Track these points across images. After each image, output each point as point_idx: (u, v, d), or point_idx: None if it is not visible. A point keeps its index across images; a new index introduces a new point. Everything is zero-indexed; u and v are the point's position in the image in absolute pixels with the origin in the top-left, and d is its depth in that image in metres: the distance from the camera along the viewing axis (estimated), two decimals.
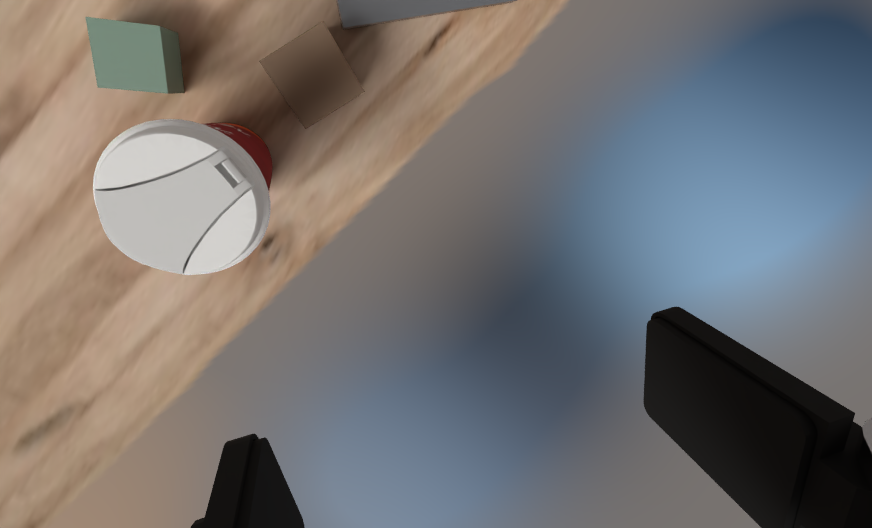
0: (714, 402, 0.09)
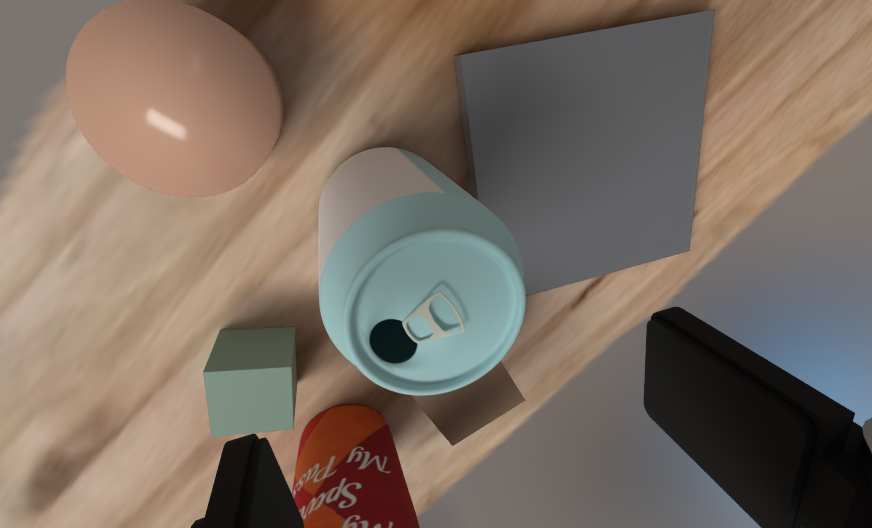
0: (714, 402, 0.09)
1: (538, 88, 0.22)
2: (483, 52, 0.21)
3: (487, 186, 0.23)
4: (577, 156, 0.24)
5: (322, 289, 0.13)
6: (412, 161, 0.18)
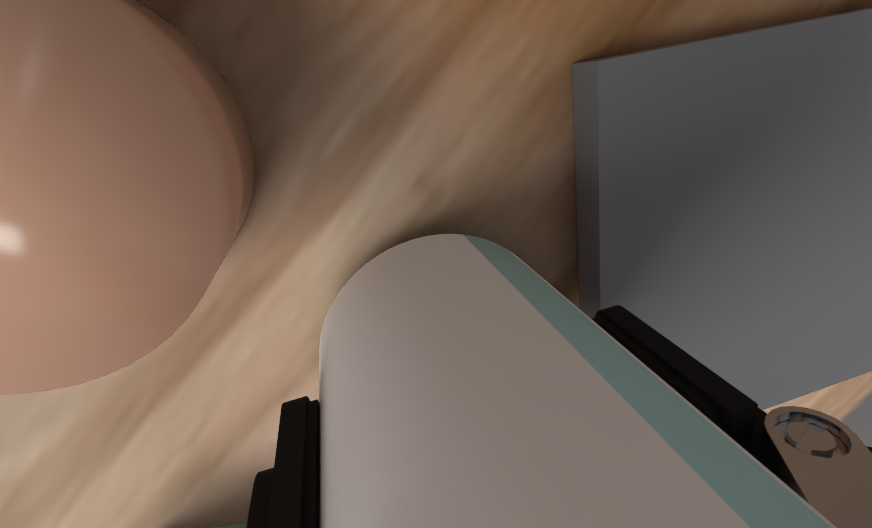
0: None
1: (723, 121, 0.12)
2: (639, 56, 0.11)
3: (617, 290, 0.13)
4: (766, 234, 0.14)
5: None
6: (524, 294, 0.08)
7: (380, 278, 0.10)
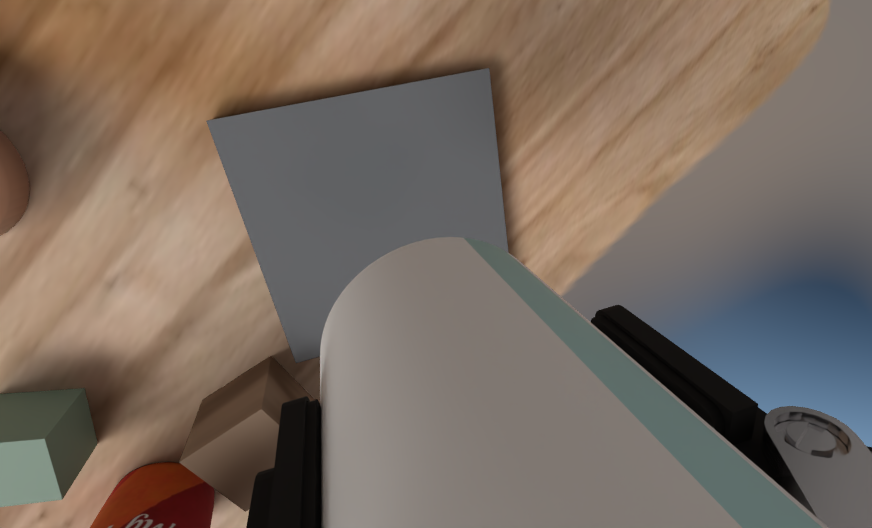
0: None
1: (303, 150, 0.21)
2: (231, 117, 0.20)
3: (265, 247, 0.23)
4: (363, 214, 0.23)
5: None
6: (524, 298, 0.08)
7: (381, 282, 0.10)
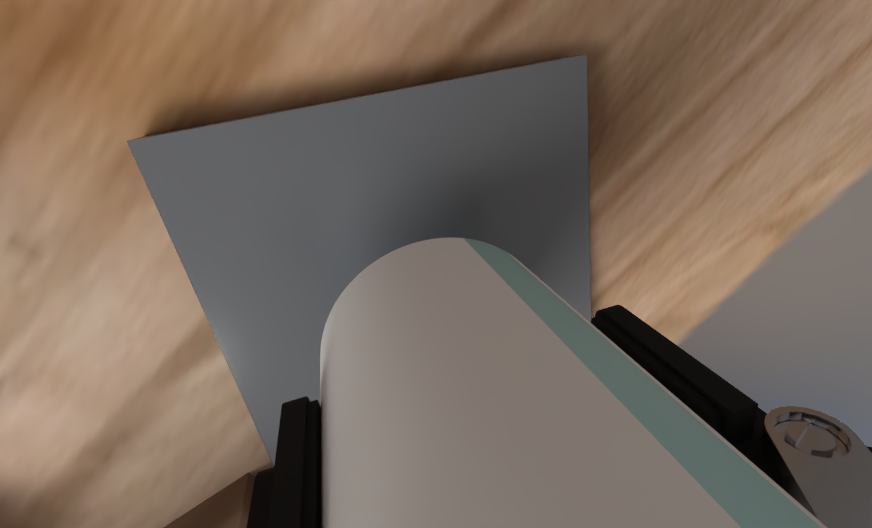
0: None
1: (292, 186, 0.13)
2: (171, 135, 0.12)
3: (234, 334, 0.15)
4: None
5: None
6: (524, 298, 0.08)
7: (381, 282, 0.10)
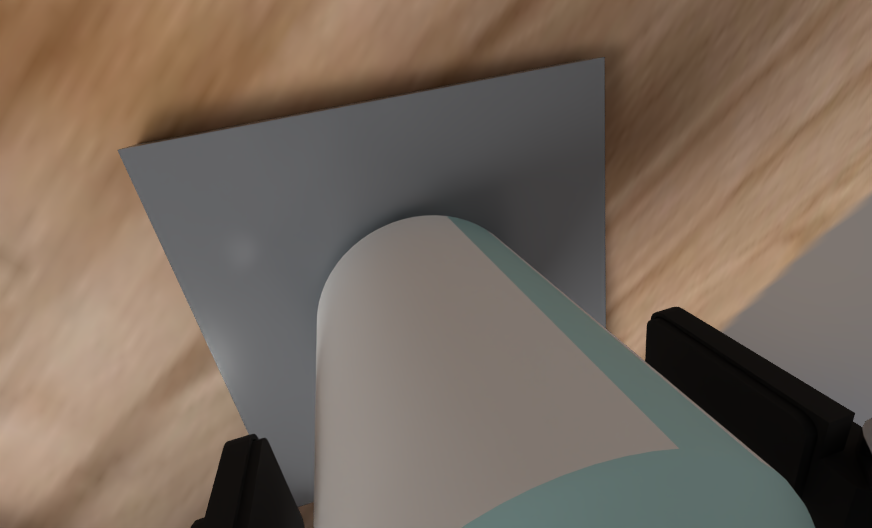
0: (714, 402, 0.09)
1: (293, 196, 0.13)
2: (164, 143, 0.11)
3: (232, 351, 0.14)
4: None
5: None
6: (494, 260, 0.10)
7: (371, 251, 0.12)
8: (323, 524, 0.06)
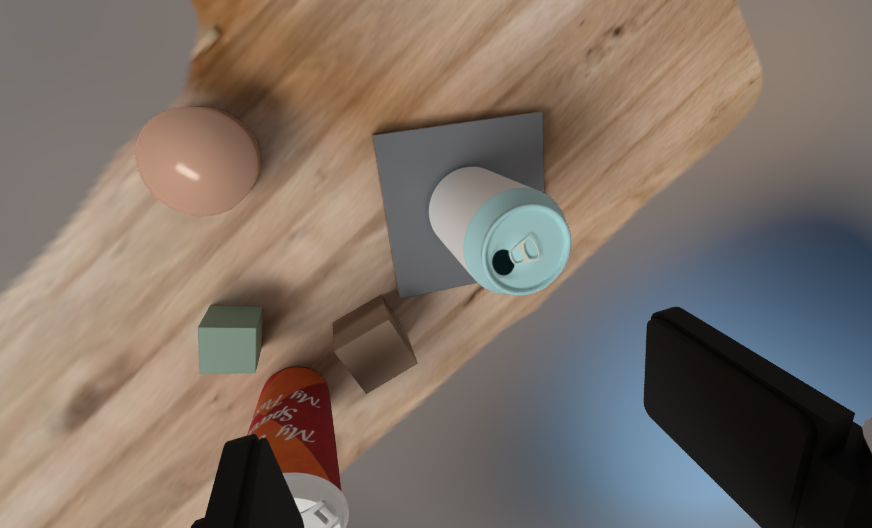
0: (714, 402, 0.09)
1: (426, 156, 0.34)
2: (388, 134, 0.33)
3: (394, 217, 0.35)
4: None
5: (468, 233, 0.26)
6: None
7: (456, 175, 0.33)
8: (461, 216, 0.28)
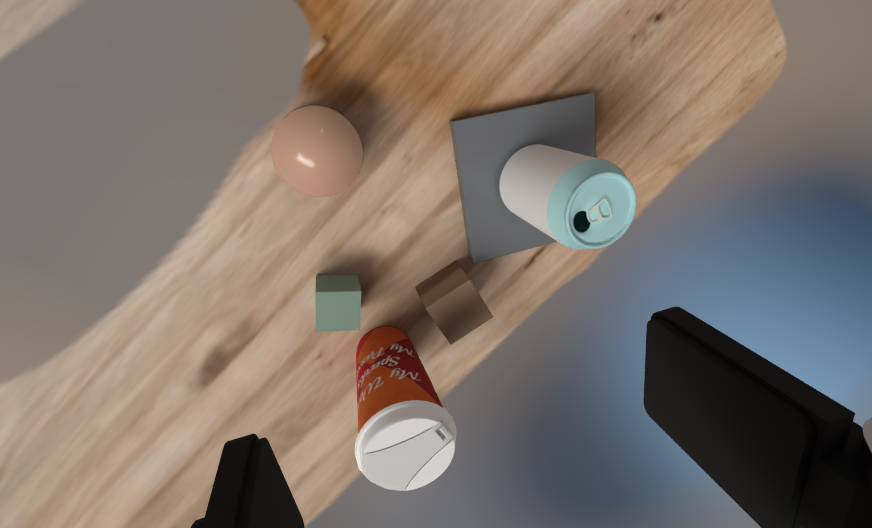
0: (714, 402, 0.09)
1: (496, 137, 0.40)
2: (465, 120, 0.39)
3: (469, 191, 0.41)
4: None
5: (551, 199, 0.32)
6: None
7: (524, 152, 0.39)
8: (541, 186, 0.33)
